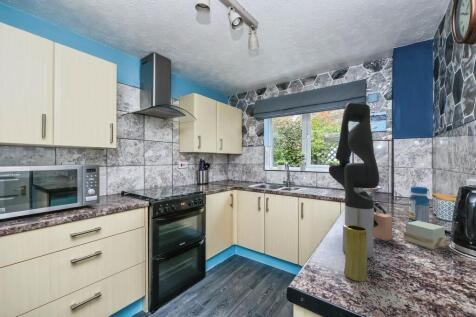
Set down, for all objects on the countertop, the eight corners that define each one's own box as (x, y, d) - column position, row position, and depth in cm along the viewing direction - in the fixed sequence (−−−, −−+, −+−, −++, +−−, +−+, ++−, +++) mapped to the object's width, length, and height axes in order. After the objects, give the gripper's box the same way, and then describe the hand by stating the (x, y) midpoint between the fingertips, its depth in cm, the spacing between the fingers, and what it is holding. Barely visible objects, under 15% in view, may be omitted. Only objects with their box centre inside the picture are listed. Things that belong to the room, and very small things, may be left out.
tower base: (432, 250, 79) (432, 240, 79) (403, 240, 88) (403, 231, 88) (446, 246, 83) (446, 236, 83) (416, 237, 92) (416, 228, 92)
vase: (346, 268, 65) (346, 223, 65) (369, 275, 61) (369, 227, 61) (341, 276, 60) (342, 228, 60) (366, 284, 56) (366, 232, 56)
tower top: (432, 240, 79) (432, 229, 79) (406, 232, 87) (406, 223, 87) (444, 236, 83) (444, 226, 83) (417, 229, 91) (418, 220, 91)
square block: (385, 240, 87) (385, 217, 87) (373, 236, 92) (373, 214, 92) (392, 239, 89) (392, 216, 89) (380, 235, 94) (380, 213, 94)
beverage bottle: (425, 227, 105) (425, 188, 105) (405, 223, 112) (405, 186, 112) (432, 225, 109) (432, 187, 109) (412, 221, 116) (412, 186, 116)
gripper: (353, 191, 96) (378, 222, 85) (373, 189, 101) (398, 219, 91) (343, 200, 101) (366, 231, 90) (363, 198, 106) (386, 227, 96)
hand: (382, 225), depth 90 cm, fingers open, 8 cm apart
